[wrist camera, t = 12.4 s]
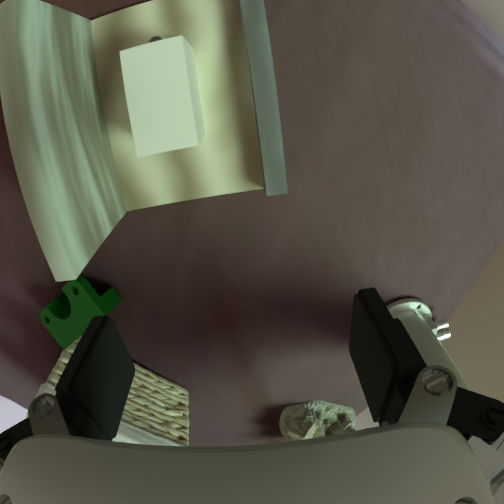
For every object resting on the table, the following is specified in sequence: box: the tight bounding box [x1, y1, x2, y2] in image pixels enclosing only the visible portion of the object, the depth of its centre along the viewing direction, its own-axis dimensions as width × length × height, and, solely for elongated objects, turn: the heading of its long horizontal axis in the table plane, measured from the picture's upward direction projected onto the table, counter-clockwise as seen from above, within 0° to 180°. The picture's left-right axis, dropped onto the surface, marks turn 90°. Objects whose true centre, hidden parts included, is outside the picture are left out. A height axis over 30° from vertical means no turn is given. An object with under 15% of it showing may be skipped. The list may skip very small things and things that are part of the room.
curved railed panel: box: [0, 0, 288, 282], centre depth 21 cm, size 19×22×14 cm
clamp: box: [40, 274, 122, 350], centre depth 36 cm, size 12×6×9 cm, turn 119°
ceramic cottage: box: [279, 400, 356, 442], centre depth 49 cm, size 16×16×15 cm
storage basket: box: [27, 336, 189, 446], centre depth 40 cm, size 24×16×15 cm
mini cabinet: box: [119, 35, 206, 158], centre depth 23 cm, size 5×10×7 cm, turn 7°
